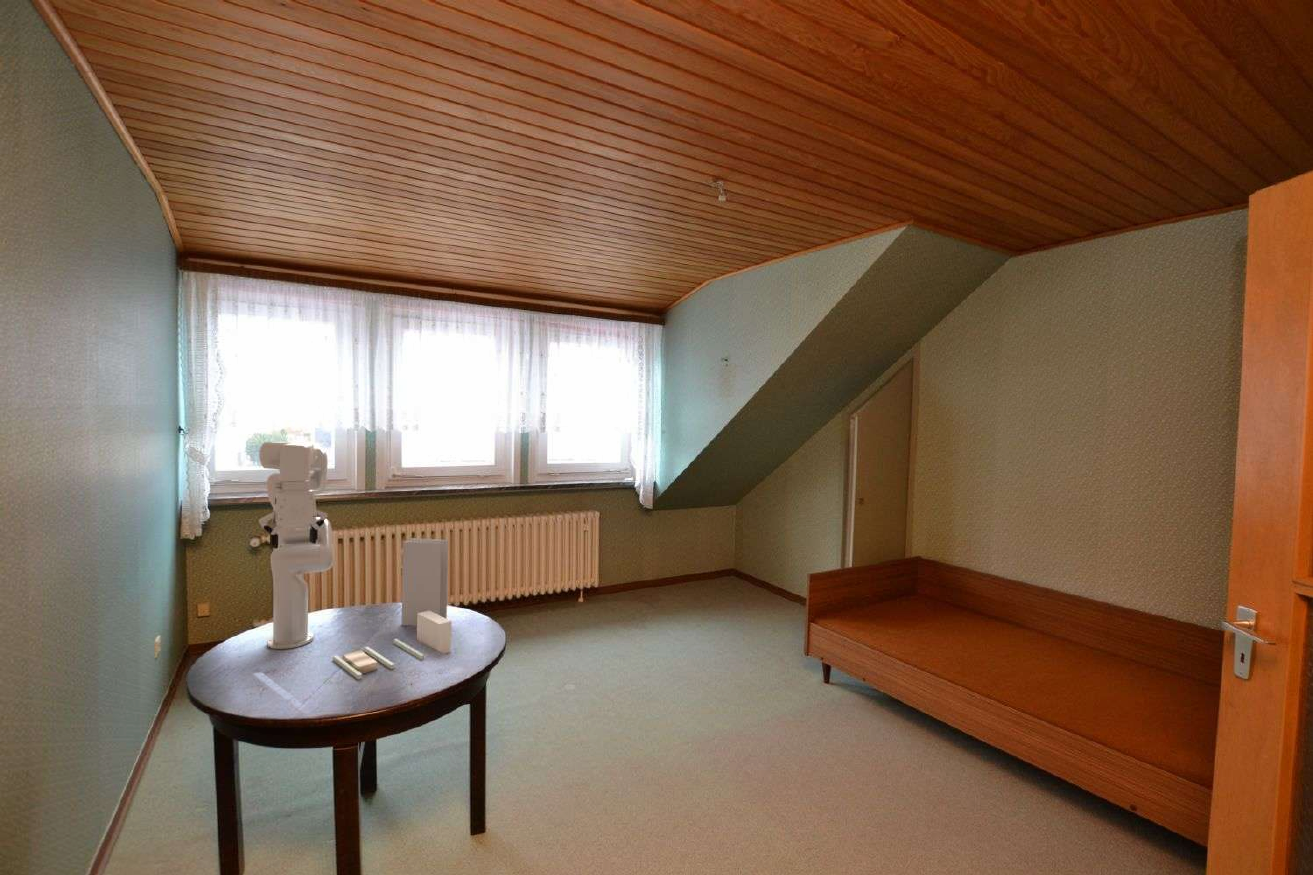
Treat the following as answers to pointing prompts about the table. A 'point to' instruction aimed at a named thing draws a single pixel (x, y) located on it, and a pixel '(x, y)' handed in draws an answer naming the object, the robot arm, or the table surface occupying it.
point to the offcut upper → (360, 661)
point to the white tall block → (424, 578)
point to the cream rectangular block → (434, 631)
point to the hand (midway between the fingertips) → (294, 545)
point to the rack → (377, 658)
